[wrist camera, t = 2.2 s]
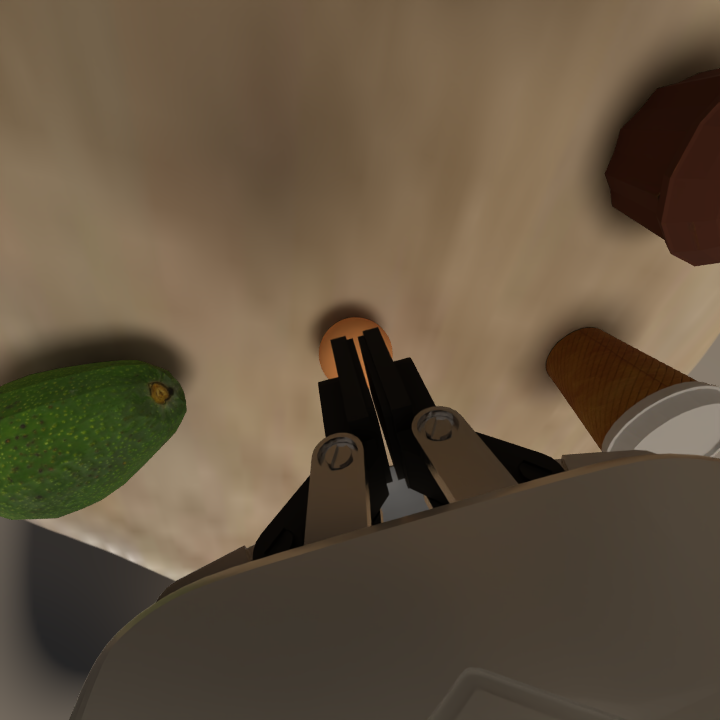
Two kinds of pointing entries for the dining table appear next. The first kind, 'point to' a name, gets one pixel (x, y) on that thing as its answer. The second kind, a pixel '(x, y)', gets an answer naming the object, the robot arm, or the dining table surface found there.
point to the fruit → (81, 433)
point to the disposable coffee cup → (634, 397)
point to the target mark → (401, 500)
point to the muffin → (674, 167)
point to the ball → (350, 330)
